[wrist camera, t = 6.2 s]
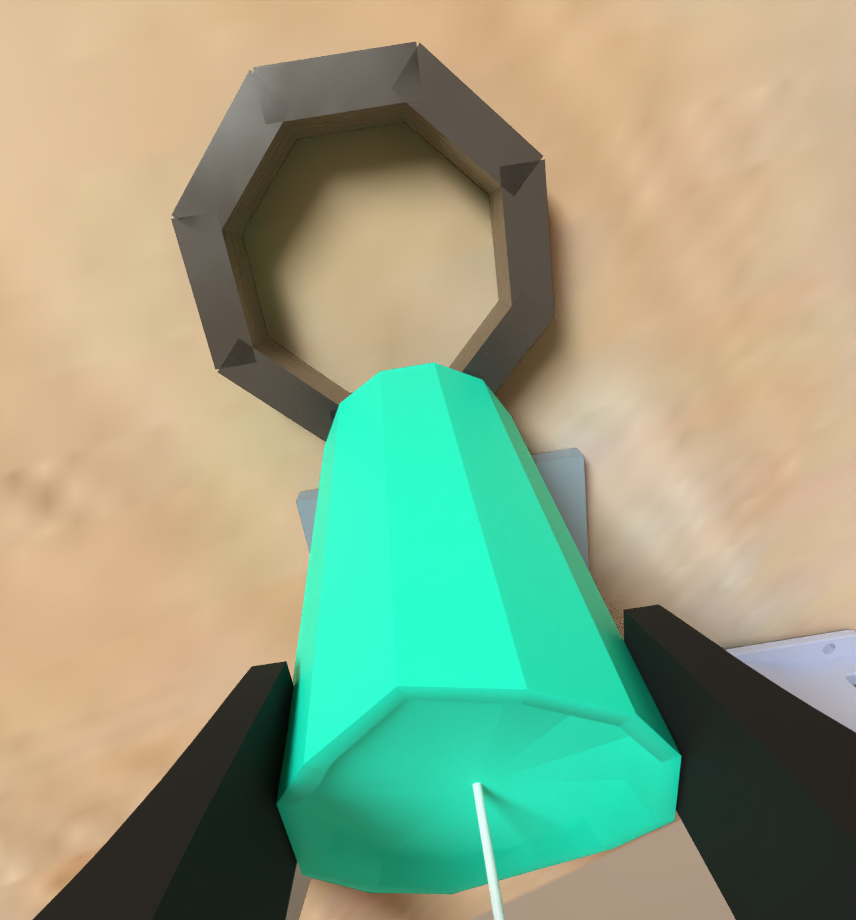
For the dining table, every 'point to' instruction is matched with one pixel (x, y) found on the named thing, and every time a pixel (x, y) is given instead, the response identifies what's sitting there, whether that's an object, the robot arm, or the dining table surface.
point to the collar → (336, 110)
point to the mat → (558, 475)
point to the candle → (456, 661)
